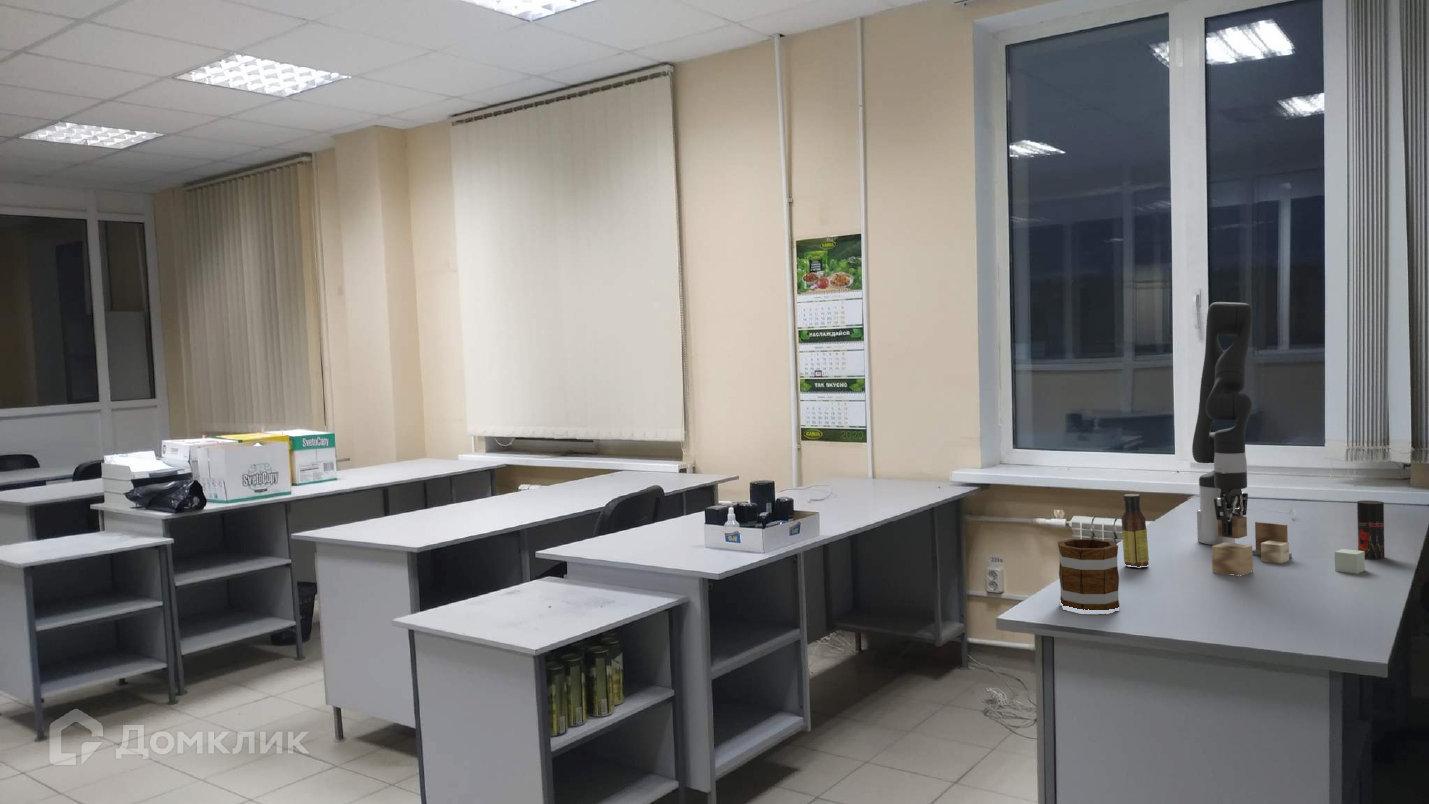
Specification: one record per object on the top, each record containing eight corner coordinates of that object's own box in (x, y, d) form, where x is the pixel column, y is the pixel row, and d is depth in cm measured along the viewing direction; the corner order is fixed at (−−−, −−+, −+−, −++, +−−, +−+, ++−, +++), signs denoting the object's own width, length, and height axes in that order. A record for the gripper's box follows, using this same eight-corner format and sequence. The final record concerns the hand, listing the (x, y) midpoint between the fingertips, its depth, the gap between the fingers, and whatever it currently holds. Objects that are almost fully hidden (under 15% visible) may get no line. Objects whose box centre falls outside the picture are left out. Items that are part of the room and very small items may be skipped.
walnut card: (1252, 554, 268) (1251, 522, 267) (1257, 553, 269) (1256, 520, 269) (1286, 559, 260) (1286, 525, 260) (1291, 557, 262) (1290, 524, 262)
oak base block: (1212, 572, 250) (1211, 546, 250) (1225, 568, 254) (1224, 542, 254) (1240, 576, 244) (1239, 549, 244) (1252, 572, 248) (1252, 545, 248)
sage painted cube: (1335, 571, 246) (1334, 551, 245) (1342, 567, 249) (1342, 548, 248) (1357, 573, 242) (1356, 554, 241) (1364, 570, 244) (1364, 551, 244)
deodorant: (1388, 559, 255) (1388, 503, 254) (1364, 559, 256) (1363, 503, 256) (1378, 554, 261) (1377, 500, 260) (1354, 554, 262) (1353, 500, 261)
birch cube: (1261, 561, 260) (1260, 543, 260) (1269, 558, 263) (1269, 540, 263) (1280, 563, 256) (1280, 545, 256) (1289, 560, 259) (1288, 542, 259)
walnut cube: (1218, 536, 249) (1217, 517, 249) (1227, 533, 252) (1226, 514, 252) (1238, 538, 245) (1237, 519, 245) (1247, 535, 248) (1246, 516, 248)
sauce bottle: (1149, 564, 262) (1147, 493, 261) (1148, 569, 256) (1146, 496, 255) (1123, 563, 264) (1121, 492, 263) (1122, 568, 259) (1120, 496, 258)
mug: (1113, 618, 213) (1111, 551, 212) (1051, 611, 221) (1049, 547, 220) (1132, 597, 229) (1130, 536, 228) (1074, 592, 237) (1072, 532, 236)
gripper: (1228, 466, 255) (1230, 529, 256) (1202, 471, 247) (1204, 536, 247) (1258, 467, 249) (1259, 532, 250) (1232, 473, 241) (1233, 540, 241)
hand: (1232, 534), depth 249 cm, fingers closed on walnut cube, 5 cm apart
